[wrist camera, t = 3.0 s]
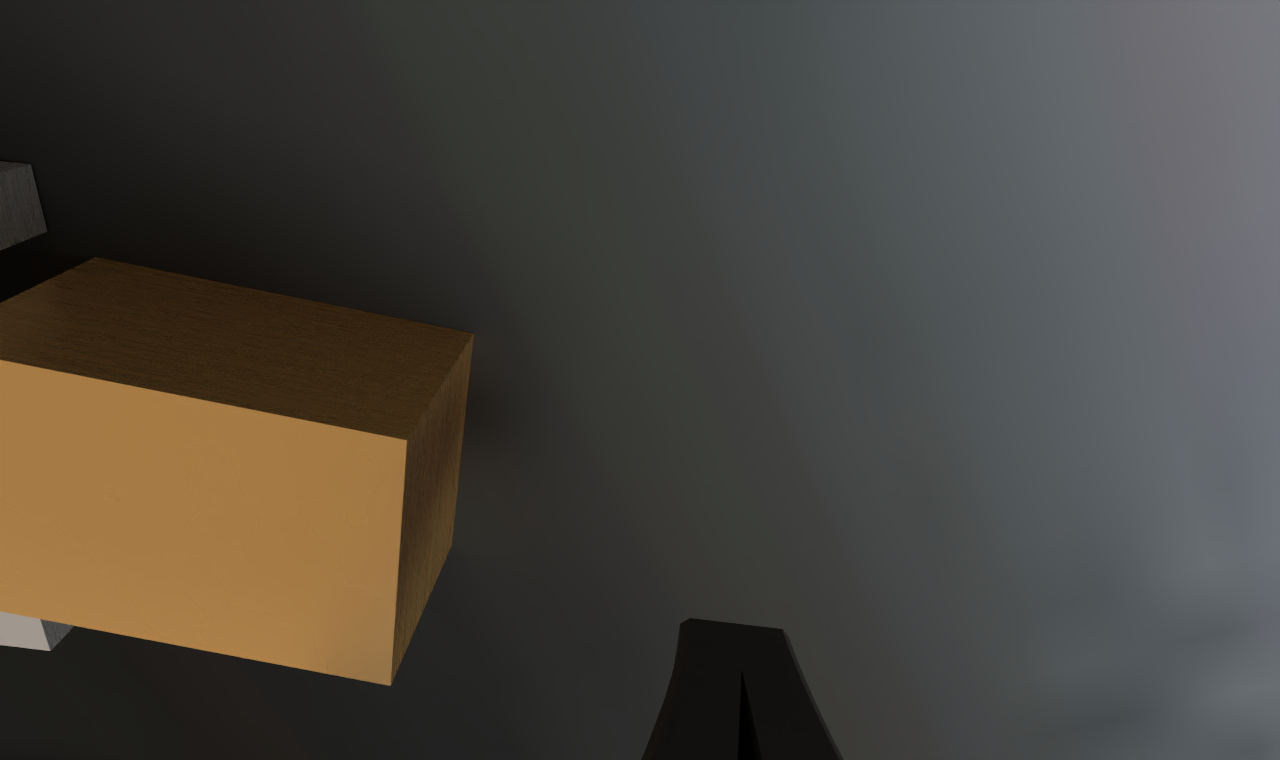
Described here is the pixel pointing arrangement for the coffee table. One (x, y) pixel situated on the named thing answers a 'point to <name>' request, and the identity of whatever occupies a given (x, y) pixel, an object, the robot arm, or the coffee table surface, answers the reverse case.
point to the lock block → (226, 466)
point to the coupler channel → (3, 216)
